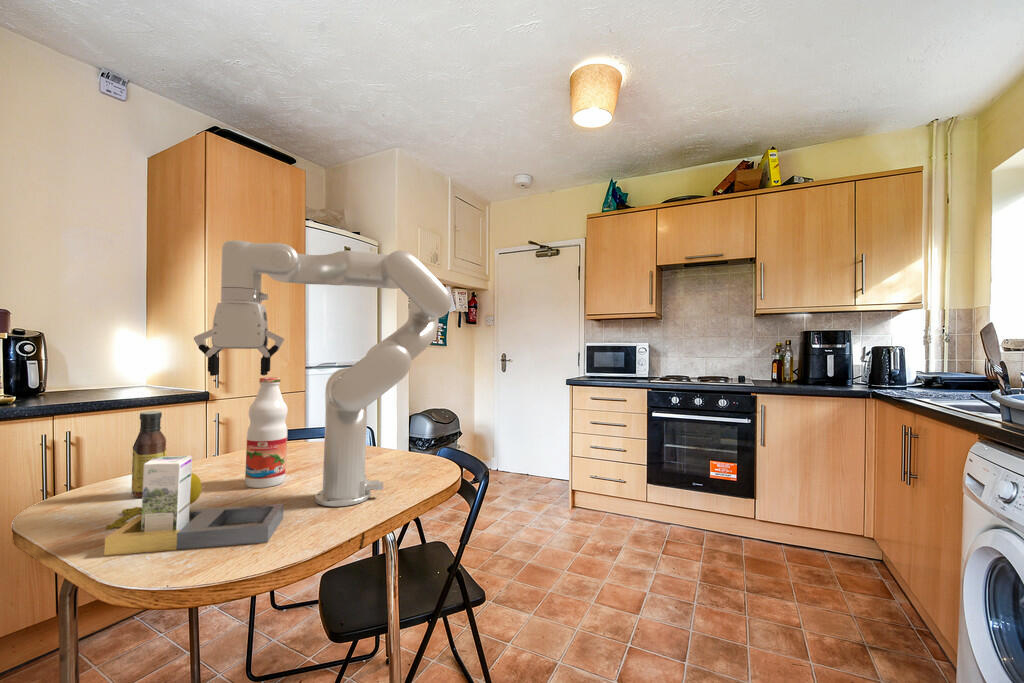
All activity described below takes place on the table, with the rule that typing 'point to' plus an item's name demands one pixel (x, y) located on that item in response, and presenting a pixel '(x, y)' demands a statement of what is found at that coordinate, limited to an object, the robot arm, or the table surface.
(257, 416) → the fruit juice
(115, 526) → the key
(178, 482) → the syrup box
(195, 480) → the lemon
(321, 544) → the table surface
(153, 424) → the sauce bottle
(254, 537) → the tray
